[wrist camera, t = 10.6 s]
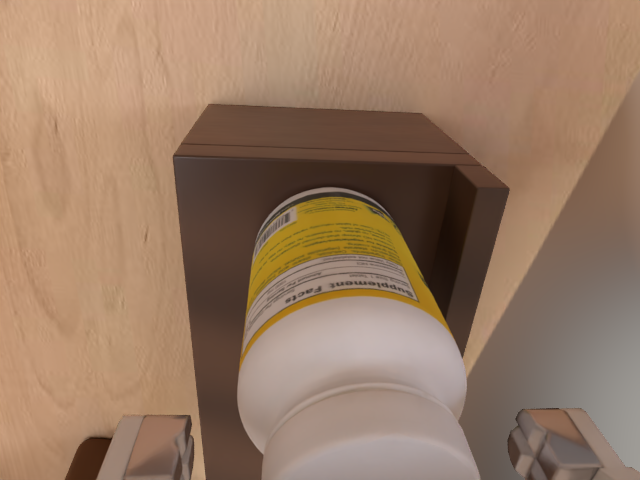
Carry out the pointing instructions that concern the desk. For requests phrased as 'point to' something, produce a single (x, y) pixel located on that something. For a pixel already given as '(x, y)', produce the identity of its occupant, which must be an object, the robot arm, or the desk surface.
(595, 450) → the robot arm
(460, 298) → the shelf
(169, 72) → the desk surface
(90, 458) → the chocolate bar pack
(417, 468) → the pill bottle
